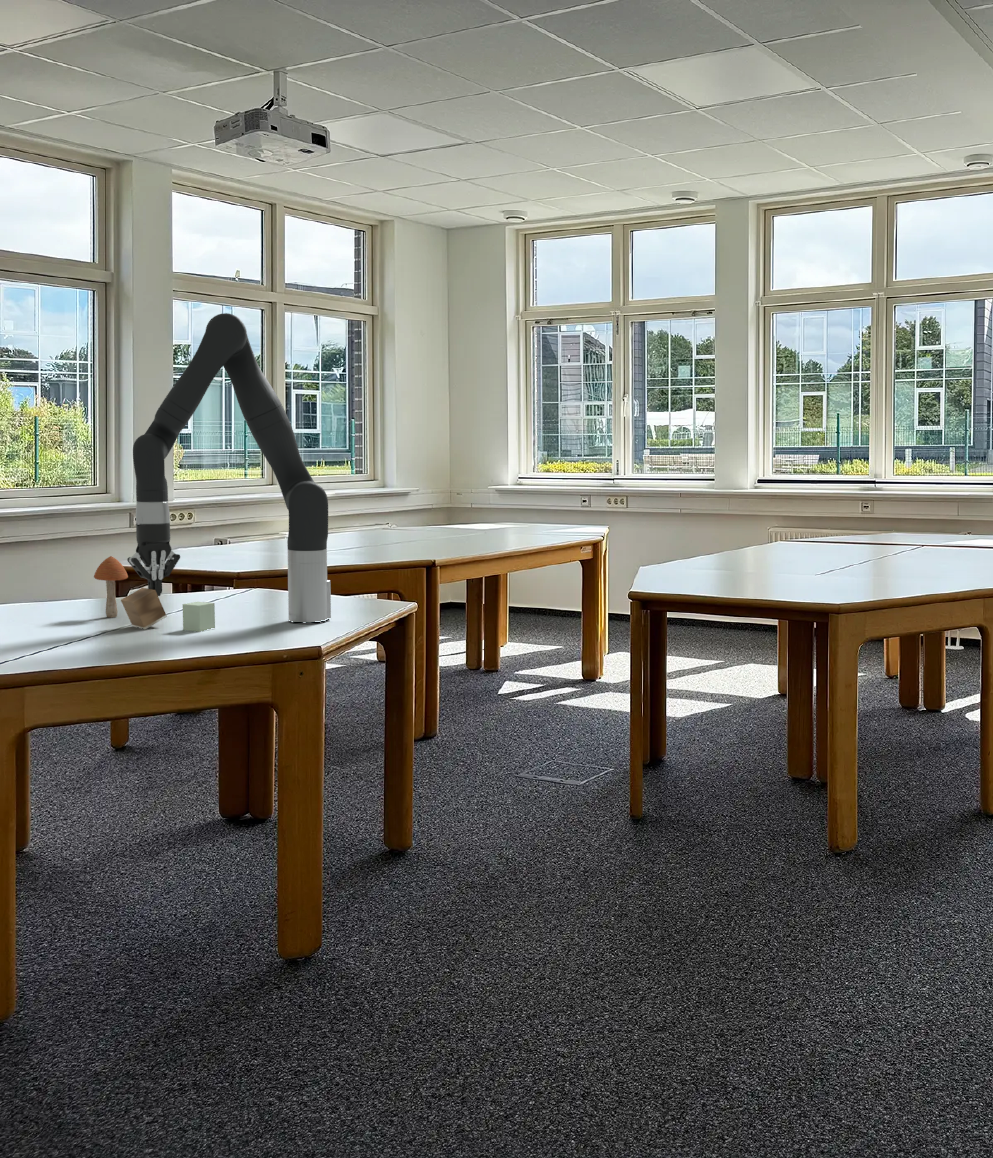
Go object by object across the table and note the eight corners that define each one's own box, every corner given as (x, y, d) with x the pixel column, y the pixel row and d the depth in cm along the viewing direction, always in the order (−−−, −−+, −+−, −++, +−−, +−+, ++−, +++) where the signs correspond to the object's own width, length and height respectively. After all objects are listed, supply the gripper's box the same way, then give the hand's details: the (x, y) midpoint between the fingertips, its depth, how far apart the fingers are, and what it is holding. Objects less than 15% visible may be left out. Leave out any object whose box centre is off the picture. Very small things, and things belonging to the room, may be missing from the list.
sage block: (198, 627, 272) (197, 601, 272) (215, 629, 270) (214, 603, 269) (183, 630, 268) (182, 604, 267) (200, 632, 266) (199, 605, 265)
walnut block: (154, 613, 277) (142, 587, 274) (167, 616, 272) (155, 590, 270) (132, 626, 273) (120, 599, 271) (145, 629, 269) (133, 602, 266)
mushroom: (118, 620, 282) (116, 557, 281) (88, 619, 284) (86, 557, 282) (135, 615, 290) (133, 554, 288) (105, 614, 292) (103, 554, 290)
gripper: (169, 519, 279) (171, 592, 281) (118, 521, 269) (120, 597, 271) (187, 520, 274) (189, 594, 276) (135, 523, 264) (138, 600, 266)
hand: (155, 595), depth 274 cm, fingers closed
